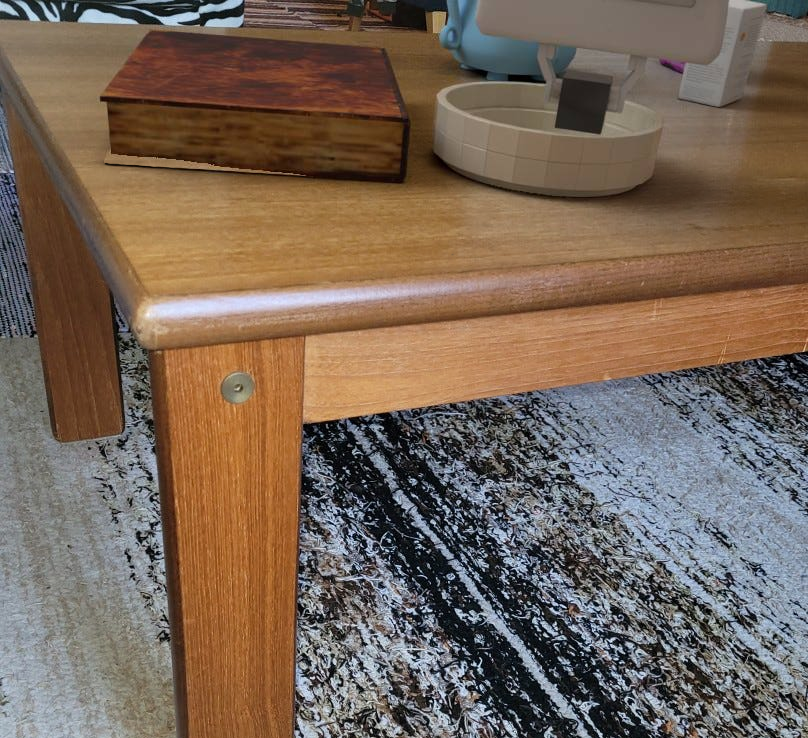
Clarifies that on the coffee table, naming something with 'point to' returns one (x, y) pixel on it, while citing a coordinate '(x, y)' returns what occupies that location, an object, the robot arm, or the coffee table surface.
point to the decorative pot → (494, 47)
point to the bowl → (541, 142)
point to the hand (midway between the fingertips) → (583, 107)
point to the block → (583, 101)
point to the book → (261, 106)
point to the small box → (726, 59)
